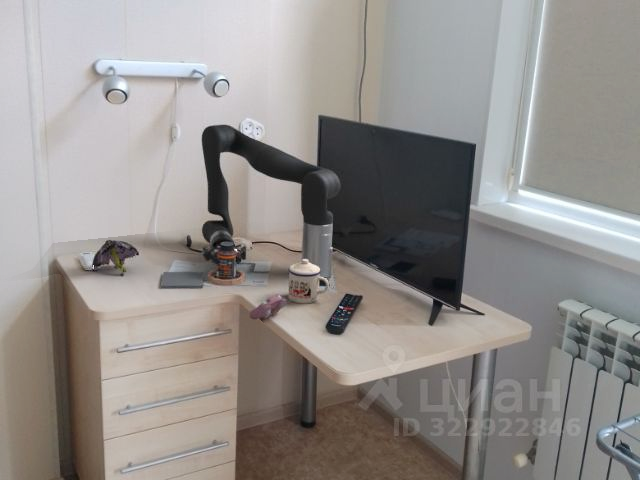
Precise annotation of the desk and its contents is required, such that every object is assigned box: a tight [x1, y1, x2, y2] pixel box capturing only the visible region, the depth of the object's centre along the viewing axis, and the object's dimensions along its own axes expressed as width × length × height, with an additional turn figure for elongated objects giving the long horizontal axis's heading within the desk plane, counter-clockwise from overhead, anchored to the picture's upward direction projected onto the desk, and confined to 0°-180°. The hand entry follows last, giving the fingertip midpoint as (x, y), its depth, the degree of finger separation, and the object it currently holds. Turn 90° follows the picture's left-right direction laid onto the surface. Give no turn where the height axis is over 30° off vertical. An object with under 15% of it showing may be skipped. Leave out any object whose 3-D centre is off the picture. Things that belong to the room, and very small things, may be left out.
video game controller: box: [249, 294, 288, 320], centre depth 182 cm, size 10×5×7 cm, turn 144°
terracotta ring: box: [207, 268, 246, 286], centre depth 209 cm, size 11×11×1 cm
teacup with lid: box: [288, 258, 330, 304], centre depth 195 cm, size 12×9×12 cm
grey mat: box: [160, 271, 204, 289], centre depth 205 cm, size 12×12×1 cm
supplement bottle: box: [216, 242, 237, 280], centre depth 207 cm, size 6×6×11 cm
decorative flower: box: [91, 239, 140, 277], centre depth 208 cm, size 14×12×15 cm
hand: (227, 260), depth 205 cm, fingers closed on supplement bottle, 6 cm apart
